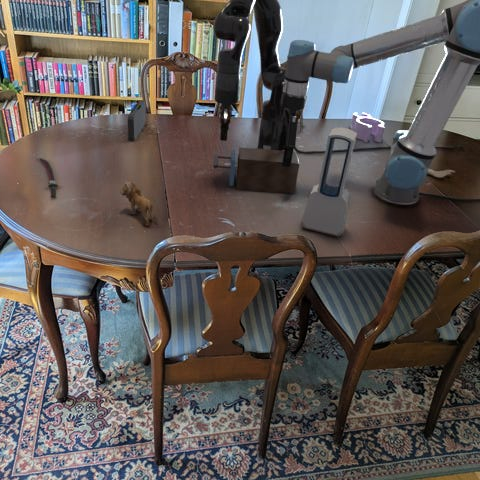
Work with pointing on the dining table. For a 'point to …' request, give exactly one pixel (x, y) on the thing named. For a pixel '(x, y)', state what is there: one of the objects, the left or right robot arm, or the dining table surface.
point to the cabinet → (266, 171)
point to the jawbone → (439, 173)
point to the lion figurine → (137, 201)
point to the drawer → (232, 166)
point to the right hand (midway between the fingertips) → (284, 157)
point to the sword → (52, 181)
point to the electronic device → (330, 192)
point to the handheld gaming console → (136, 120)
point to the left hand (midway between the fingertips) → (223, 139)
